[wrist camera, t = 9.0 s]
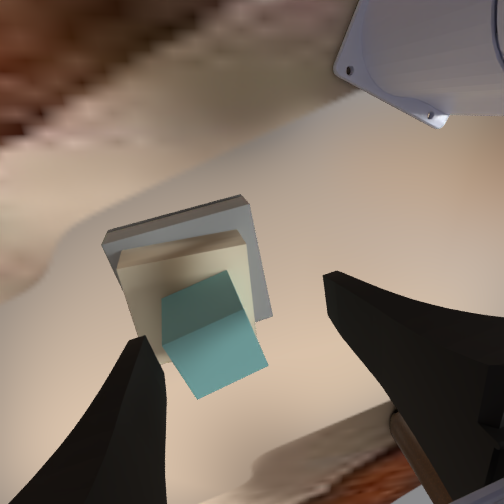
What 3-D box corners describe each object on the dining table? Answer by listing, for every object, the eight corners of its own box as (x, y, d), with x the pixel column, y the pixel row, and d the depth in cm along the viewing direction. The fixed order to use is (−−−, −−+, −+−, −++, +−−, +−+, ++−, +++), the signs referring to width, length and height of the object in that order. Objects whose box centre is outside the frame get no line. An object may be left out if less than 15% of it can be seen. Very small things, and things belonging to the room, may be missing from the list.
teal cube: (226, 269, 18) (243, 308, 14) (249, 320, 20) (268, 365, 16) (161, 298, 17) (161, 345, 14) (190, 347, 19) (197, 399, 16)
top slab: (236, 229, 20) (246, 244, 17) (247, 317, 23) (256, 339, 21) (121, 250, 18) (116, 269, 16) (149, 341, 21) (148, 367, 19)
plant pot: (502, 394, 41) (683, 545, 27) (404, 466, 42) (527, 648, 28) (468, 328, 33) (697, 491, 19) (350, 419, 34) (482, 636, 20)
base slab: (240, 193, 21) (249, 203, 19) (263, 298, 26) (272, 316, 23) (107, 230, 20) (101, 245, 18) (154, 333, 24) (153, 356, 22)
